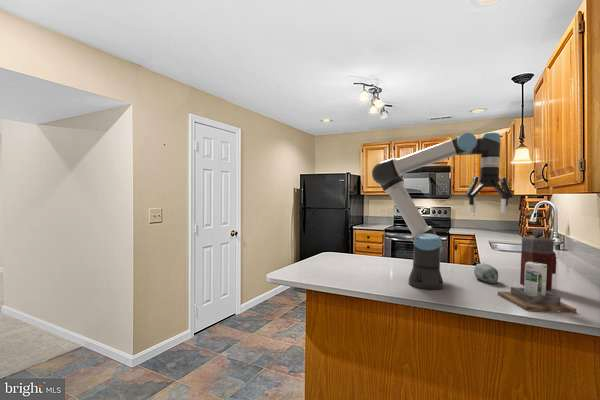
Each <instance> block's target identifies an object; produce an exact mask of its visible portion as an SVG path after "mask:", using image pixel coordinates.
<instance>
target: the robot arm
mask: <svg viewBox="0 0 600 400" xmlns="http://www.w3.org/2000/svg"><path fill="white" fill-rule="evenodd" d="M501 145H502V144H501V134H500V133H498V132H488V133H487V132H486V133H483V134H482V135H481V137H479V138H477V137H476V135H474V134H473V133H472V132H464V133H461V134H460V135H459V136H456V137H455V138H452V139H448V140H446V141H443V142H441V143H438V144H435V145H433V146H429V147H427V148H424V149H422V150H421V149H420V150H418V151H415V152H414V153H410V154H407V155H404V156H402V157H399V158H395V157H393V158H389V159H388V160H387V159H386V160H384V161H379V162H378V163H377V164H376V165H374V166H373V168H372V170H371V177H372V179H373V181H374V183H377V184H378V185H379V186H381V189H382V190H383V192H384V193H386V194H388V195H389V196H390V199H392V202H393V204H394V205H395V207H396V209H397V210H398V212H399V213H400V215H401V217H402V218H403V220H404V222H405V224H406V226H407V227H408V229H409V231H410V232H411V235H410V238H411V240H412V243H413V253H412V255H413V256H412V269H411V271H410V274H409V276H408V280H407V281H408V284H409V285H410V286H412V287H415V288H417V289H423V290H428V291H429V290H432V291H433V290H435V291H437V290H438V291H439V290H442V289H444V279H443V277H442V274H441V273H442V272H441V253H442V251H443V248H444V247H443V246H444V245H443V241H442V239H441V236H439V235H437V233H436V231H435V230H434V228H433V227H432V226H429V225H428V224H427V223H426V220H425V219H424V217H423V215H422V214H421V212H420V211H419V209H418V207H417V205H416V204H415V202H414V201H413V199H412V197H411V195H410V194H409V192H408V190H407V188H406V187H405V186H404V185H405V180H404V178H403V176H402V175H403V174H405V173H408V172H409V173H410V172H412V171H414V170H417V169H420V168H423V167H425V166H429V165H432V164H435V163H438V162H441V161H443V160H447V159H449V158H452V157H456V156H468V155H469V156H472V155H473V156H474V155H477V156H478V155H479V156H480V170H479V171H480V173H479V174H480V177H478V176H473V178H472V182H471V184H470V186H469V188H468V189H467V190H466V193H465V194H464V195H465V196H464V197H467V198H469V199H468V200H469V201H468V202H469V203H468V204H469V206H470V212H471V213H476V207H477V206H476V205H477V203H476V202H477V201H476V200H477V199H476V196H477V195H478V194H479V193H480V192H481V190H483V188H494V189H495V191H497V193H498V195H500V196H501V198H500V213H501V214H506V213H507V211H506V210H507V207H508V201H509V199H511V198H514V197H513V193H512V192H511V189H510V187H509V185H508V183H507V178H506V177H500V167H499V166H500V162H501V161H500V159H501ZM478 182H480V183H479V184H478ZM499 183H500V184H499ZM477 185H478V186H477ZM476 186H477V187H476Z"/></svg>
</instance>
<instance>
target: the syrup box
mask: <svg viewBox="0 0 600 400" xmlns="http://www.w3.org/2000/svg"><path fill="white" fill-rule="evenodd" d="M546 276H547V264H540V263H534V262H526V263H525V281H524V286H523V288H524V292H525V293H527V294H529V295H540V296H546V291H547V290H546Z"/></svg>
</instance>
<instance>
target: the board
mask: <svg viewBox="0 0 600 400" xmlns="http://www.w3.org/2000/svg"><path fill="white" fill-rule="evenodd" d="M497 295H498V296H499V295H500V296H499V297H501V298H503V299H504V298H505V300H506V299H507V301H508V302H509V303H511V304H513V303H514V304H513V305H515V304H516V306H517V307H519V308H521V309H522V308H523V310H524V311H527V310H535V311H534V312H548V311H560V312H559V313H569V312H572V313H573V314H577V308H575V307H574V306H571V305H570V304H567V303H564V302H562V301H561V300H562V299H561V297H560V296H558V295H556V294H554V293H551V292H549V291H548V290H546V296H540V295H529V294H527V293H525V292H524V286H523V287H522V286H521V287H520V286H518V287H517V286H510V291H497Z"/></svg>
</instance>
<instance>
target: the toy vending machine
mask: <svg viewBox="0 0 600 400" xmlns="http://www.w3.org/2000/svg"><path fill="white" fill-rule="evenodd" d="M543 235H544V231H543V229H542V228H541V227H534V228H533V230H532V236H525V235H524V236H522V238H521V250H520V251H521V252H520V253H521V255H520V256H521V257H520V276H519V277H520V278H519V283H520V285H521V286H523V287H524V281H525V263H526V262H534V263H540V264H547V276H546V291H552V288H553V287H552V286H553V275H556V274H557V255H556V252H555V251H554V243H555V240H553V239H551V238H547V237H543Z"/></svg>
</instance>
